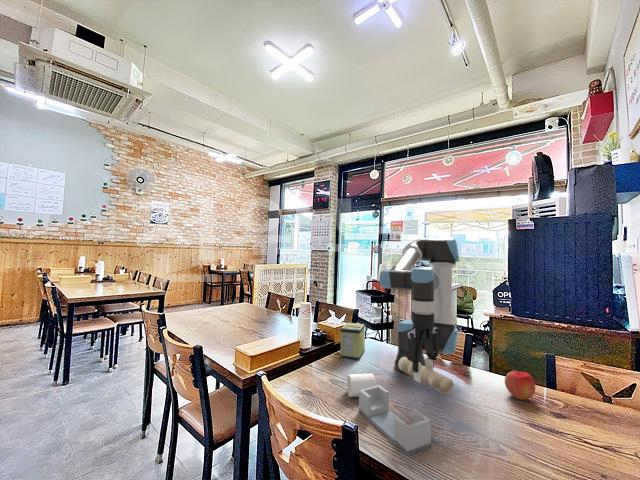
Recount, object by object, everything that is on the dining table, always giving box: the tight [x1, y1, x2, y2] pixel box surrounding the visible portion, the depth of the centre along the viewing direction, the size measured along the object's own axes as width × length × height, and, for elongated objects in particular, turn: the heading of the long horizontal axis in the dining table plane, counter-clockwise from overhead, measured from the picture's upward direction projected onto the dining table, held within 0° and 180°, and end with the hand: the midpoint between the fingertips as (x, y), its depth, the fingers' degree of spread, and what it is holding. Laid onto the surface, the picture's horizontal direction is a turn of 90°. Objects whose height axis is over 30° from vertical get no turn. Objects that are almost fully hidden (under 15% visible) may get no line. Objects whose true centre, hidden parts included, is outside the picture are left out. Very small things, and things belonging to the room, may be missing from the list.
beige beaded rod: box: [398, 357, 454, 396], centre depth 98 cm, size 20×5×5 cm, turn 26°
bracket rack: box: [358, 384, 432, 457], centre depth 91 cm, size 9×24×8 cm, turn 26°
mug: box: [346, 372, 377, 398], centre depth 114 cm, size 12×10×8 cm
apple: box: [504, 370, 536, 401], centre depth 111 cm, size 10×10×10 cm
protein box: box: [340, 322, 366, 361], centre depth 156 cm, size 10×16×16 cm
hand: (423, 379), depth 98 cm, fingers closed on beige beaded rod, 5 cm apart
